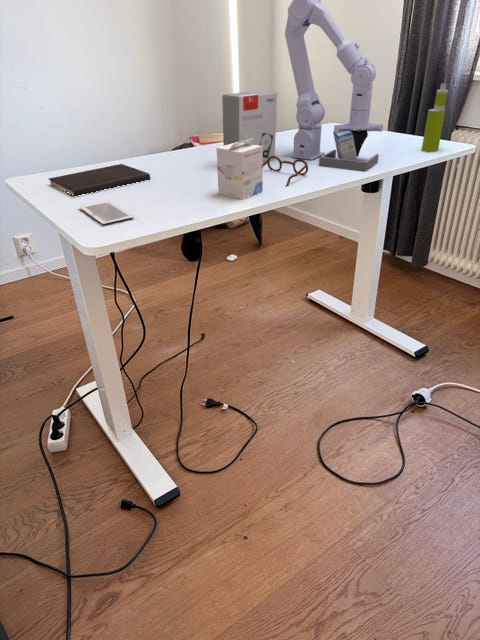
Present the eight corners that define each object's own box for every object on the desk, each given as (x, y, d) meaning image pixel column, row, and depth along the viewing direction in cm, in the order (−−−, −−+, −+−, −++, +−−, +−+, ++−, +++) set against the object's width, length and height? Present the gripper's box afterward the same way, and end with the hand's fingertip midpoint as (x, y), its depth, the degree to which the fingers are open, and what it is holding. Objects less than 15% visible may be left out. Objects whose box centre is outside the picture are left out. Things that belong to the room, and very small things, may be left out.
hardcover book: (50, 186, 136) (48, 178, 135) (122, 171, 149) (121, 163, 148) (75, 199, 126) (73, 190, 125) (150, 181, 139) (150, 173, 138)
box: (365, 171, 142) (366, 162, 140) (319, 165, 148) (319, 157, 147) (377, 162, 150) (378, 154, 149) (333, 157, 157) (333, 149, 155)
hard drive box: (238, 168, 147) (237, 96, 137) (222, 164, 152) (220, 94, 142) (276, 160, 155) (277, 91, 145) (260, 156, 160) (260, 89, 150)
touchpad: (109, 204, 122) (108, 195, 121) (136, 221, 111) (134, 211, 110) (79, 210, 118) (77, 202, 117) (103, 228, 107) (102, 219, 106)
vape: (440, 149, 163) (452, 83, 153) (429, 152, 160) (441, 85, 150) (430, 147, 166) (442, 83, 155) (419, 150, 163) (430, 84, 152)
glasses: (308, 177, 140) (309, 159, 137) (286, 188, 130) (287, 169, 128) (268, 171, 146) (268, 154, 143) (245, 182, 136) (245, 164, 134)
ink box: (238, 186, 132) (237, 134, 125) (263, 191, 127) (263, 137, 120) (217, 194, 126) (215, 140, 119) (242, 200, 121) (241, 144, 114)
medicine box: (338, 158, 156) (332, 131, 151) (352, 153, 155) (346, 126, 151) (343, 164, 149) (337, 136, 145) (357, 159, 148) (352, 131, 144)
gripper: (380, 106, 149) (374, 152, 156) (333, 108, 149) (330, 153, 156) (387, 110, 143) (381, 157, 150) (338, 111, 143) (334, 159, 150)
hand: (355, 156), depth 153 cm, fingers closed
